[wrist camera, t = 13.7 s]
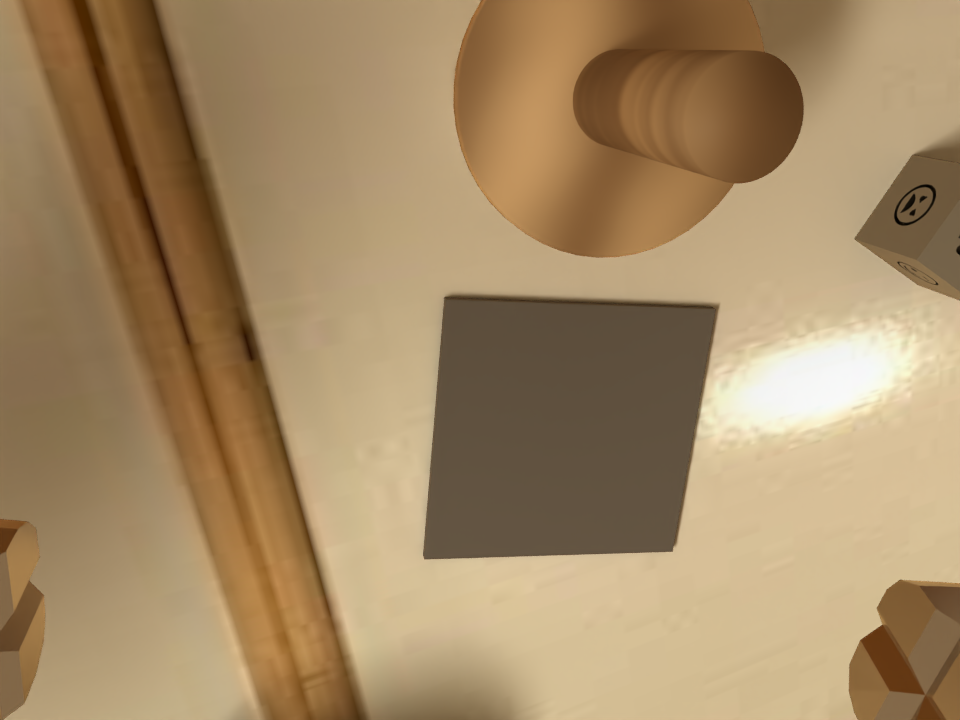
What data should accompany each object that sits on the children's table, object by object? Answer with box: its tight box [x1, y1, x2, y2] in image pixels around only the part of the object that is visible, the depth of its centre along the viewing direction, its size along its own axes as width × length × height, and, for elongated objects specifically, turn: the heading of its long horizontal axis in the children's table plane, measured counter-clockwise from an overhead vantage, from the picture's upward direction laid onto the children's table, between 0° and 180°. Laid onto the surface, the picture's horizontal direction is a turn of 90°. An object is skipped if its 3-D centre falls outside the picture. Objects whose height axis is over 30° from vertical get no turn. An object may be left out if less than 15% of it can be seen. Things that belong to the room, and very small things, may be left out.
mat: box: [423, 297, 716, 559], centre depth 47 cm, size 14×14×1 cm
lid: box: [454, 0, 803, 257], centre depth 27 cm, size 11×11×10 cm
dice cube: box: [855, 155, 960, 300], centre depth 45 cm, size 5×5×5 cm
